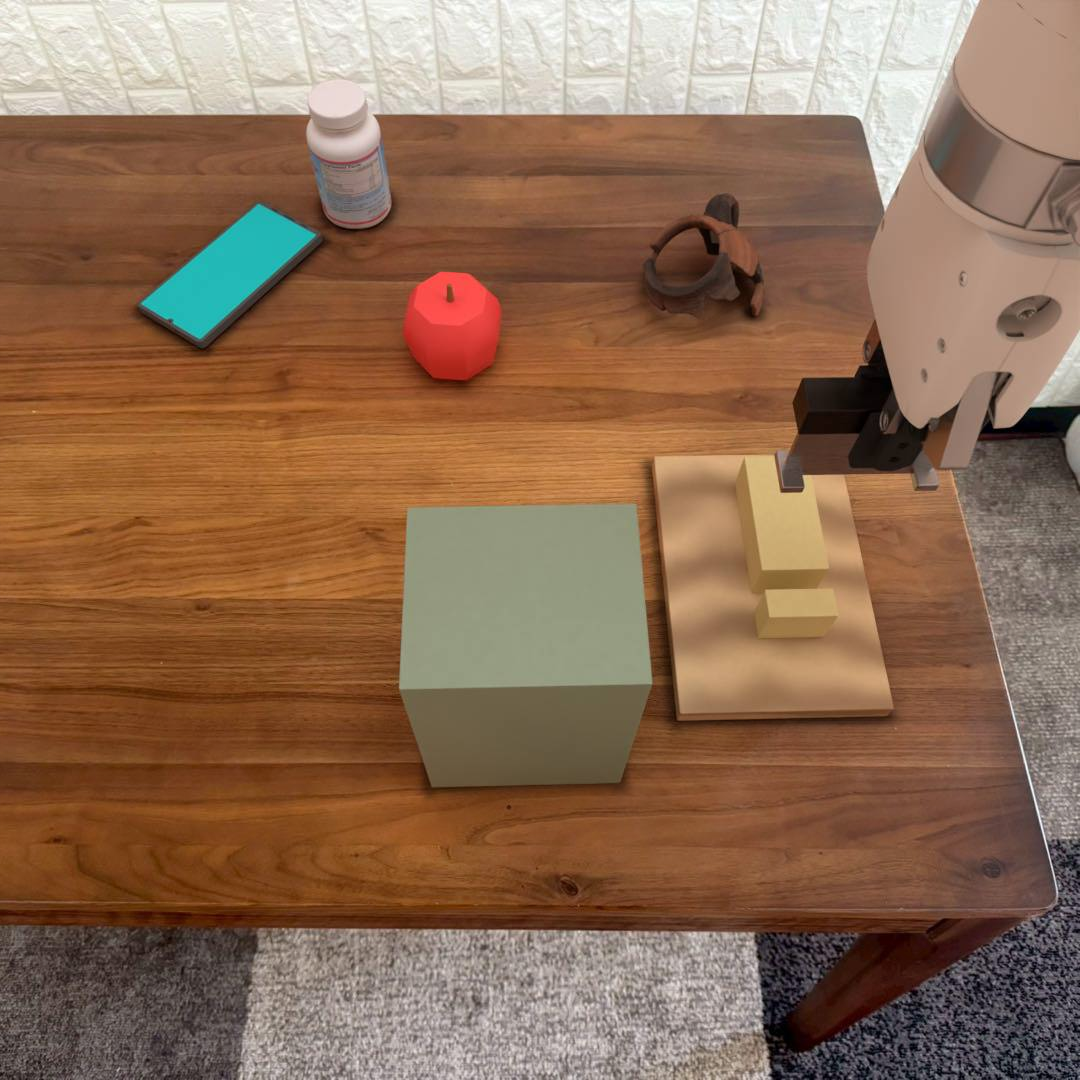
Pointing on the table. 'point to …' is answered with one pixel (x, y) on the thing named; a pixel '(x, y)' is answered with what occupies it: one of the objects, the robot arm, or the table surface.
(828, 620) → the butter slice
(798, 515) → the butter stick
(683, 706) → the board
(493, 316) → the apple
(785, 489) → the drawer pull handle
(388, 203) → the pill bottle
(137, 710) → the table surface
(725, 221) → the broken pottery vessel
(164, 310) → the smartphone
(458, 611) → the stand
